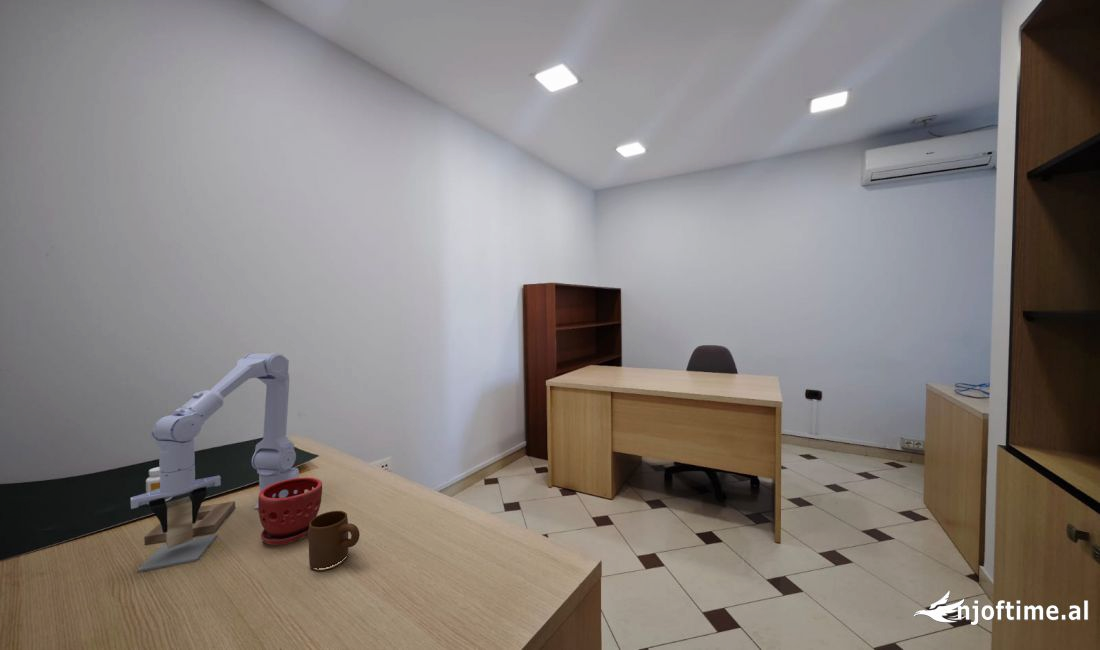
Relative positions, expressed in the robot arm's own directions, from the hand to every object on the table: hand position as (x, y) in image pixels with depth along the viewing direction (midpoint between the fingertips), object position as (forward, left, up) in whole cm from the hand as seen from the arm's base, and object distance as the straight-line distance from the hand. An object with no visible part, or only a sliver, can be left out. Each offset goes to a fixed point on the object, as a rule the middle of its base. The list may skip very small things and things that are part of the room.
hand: (179, 526), depth 86 cm
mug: (-34, +18, -6) cm, 39 cm away
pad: (0, 0, -6) cm, 6 cm away
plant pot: (-22, +1, -6) cm, 23 cm away
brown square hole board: (+3, -14, -6) cm, 16 cm away
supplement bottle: (+19, -35, -6) cm, 40 cm away
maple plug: (0, 0, -3) cm, 4 cm away
